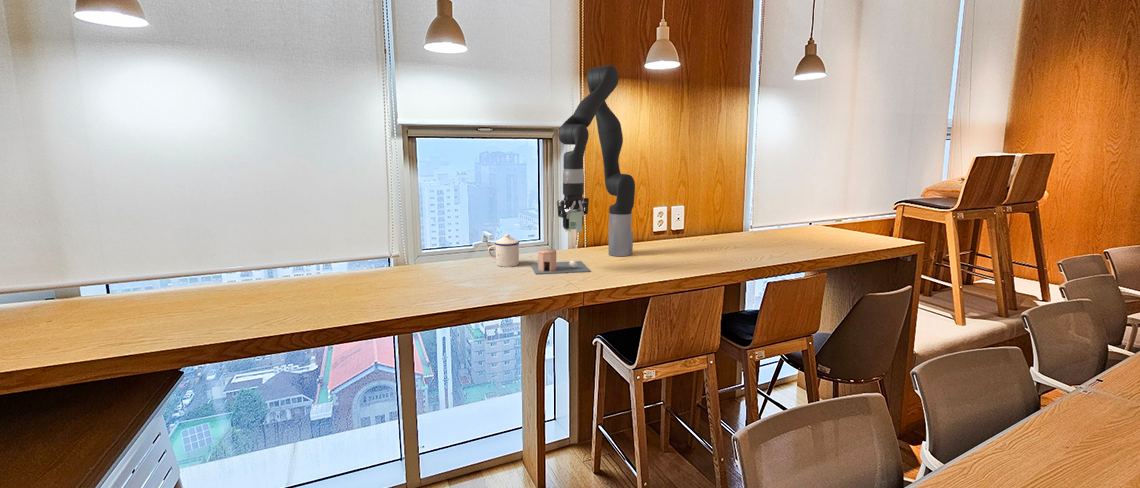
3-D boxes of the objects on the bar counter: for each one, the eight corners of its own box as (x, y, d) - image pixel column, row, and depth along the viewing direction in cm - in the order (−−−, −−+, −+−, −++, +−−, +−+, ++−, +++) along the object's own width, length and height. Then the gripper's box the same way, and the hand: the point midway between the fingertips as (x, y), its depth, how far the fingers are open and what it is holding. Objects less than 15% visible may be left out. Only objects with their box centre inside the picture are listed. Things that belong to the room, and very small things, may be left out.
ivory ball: (573, 266, 204) (573, 259, 203) (578, 268, 201) (578, 260, 201) (567, 268, 202) (567, 260, 201) (572, 269, 200) (572, 261, 199)
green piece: (573, 228, 204) (573, 209, 202) (585, 230, 199) (585, 211, 198) (560, 230, 199) (560, 211, 198) (573, 232, 195) (573, 213, 193)
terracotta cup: (548, 266, 204) (548, 248, 203) (559, 269, 200) (559, 250, 198) (534, 269, 200) (534, 250, 199) (546, 272, 195) (546, 253, 194)
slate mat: (581, 262, 213) (581, 261, 213) (590, 271, 198) (590, 270, 198) (530, 264, 210) (530, 263, 210) (535, 274, 194) (535, 273, 194)
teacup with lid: (521, 262, 213) (520, 232, 211) (517, 267, 204) (516, 236, 202) (491, 261, 214) (490, 232, 212) (485, 266, 205) (484, 236, 203)
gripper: (580, 179, 203) (579, 224, 206) (551, 182, 193) (551, 228, 197) (594, 181, 198) (594, 226, 201) (566, 183, 188) (566, 231, 191)
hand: (573, 227), depth 199 cm, fingers closed on green piece, 6 cm apart
